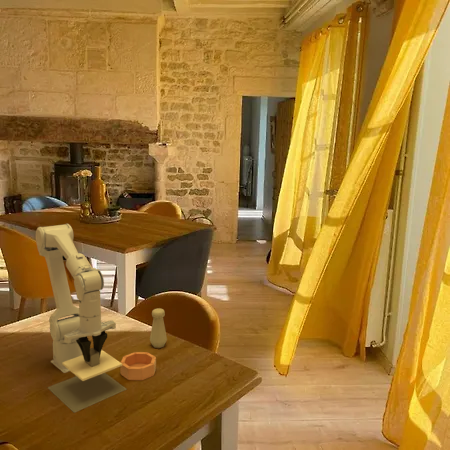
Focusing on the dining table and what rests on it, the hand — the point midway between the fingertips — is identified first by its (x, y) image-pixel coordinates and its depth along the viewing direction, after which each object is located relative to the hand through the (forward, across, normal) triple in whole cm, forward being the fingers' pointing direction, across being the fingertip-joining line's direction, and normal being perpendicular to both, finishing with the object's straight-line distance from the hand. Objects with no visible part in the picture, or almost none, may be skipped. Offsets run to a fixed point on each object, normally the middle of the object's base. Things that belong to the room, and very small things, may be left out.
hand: (91, 358), depth 128 cm
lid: (+2, 0, 0) cm, 2 cm away
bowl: (+9, +14, -2) cm, 17 cm away
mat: (+9, -2, 0) cm, 9 cm away
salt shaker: (+9, +29, +8) cm, 32 cm away
